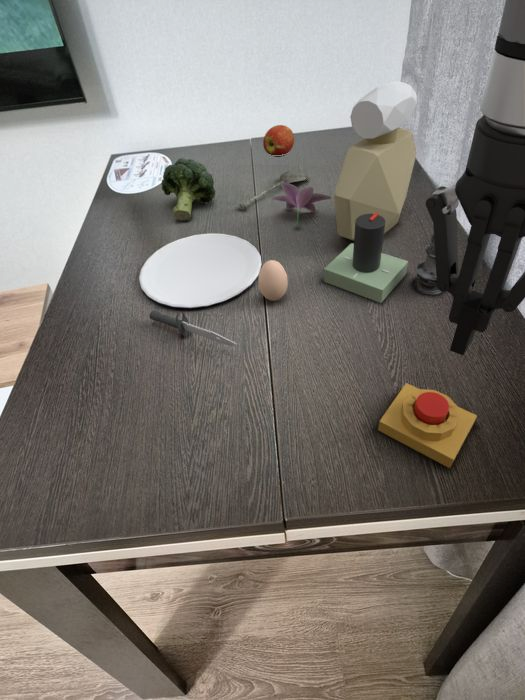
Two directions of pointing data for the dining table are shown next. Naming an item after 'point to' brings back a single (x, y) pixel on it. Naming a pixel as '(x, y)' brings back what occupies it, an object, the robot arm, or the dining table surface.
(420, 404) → the button
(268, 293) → the egg
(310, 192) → the lily
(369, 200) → the tan faceted bottle
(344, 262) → the dial panel
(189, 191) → the vegetable
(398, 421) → the button box
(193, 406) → the dining table surface
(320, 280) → the dining table surface
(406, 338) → the dining table surface
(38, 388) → the dining table surface
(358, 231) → the dial
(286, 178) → the soupspoon
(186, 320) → the knife
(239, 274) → the plate
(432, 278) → the chess piece
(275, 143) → the apple
